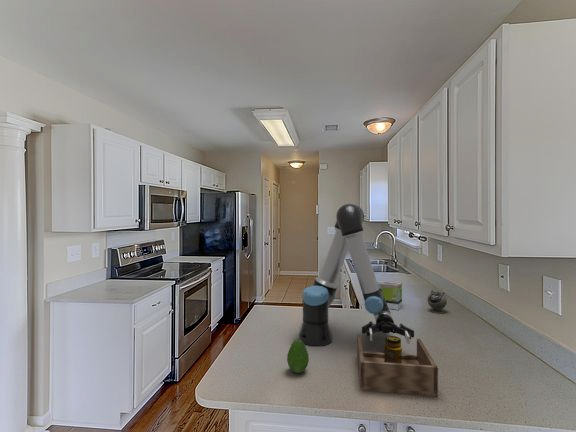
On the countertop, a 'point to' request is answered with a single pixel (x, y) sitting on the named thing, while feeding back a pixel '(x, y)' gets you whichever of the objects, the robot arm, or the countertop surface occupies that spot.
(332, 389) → the countertop surface
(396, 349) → the condiment
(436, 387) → the tray
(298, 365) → the avocado
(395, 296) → the tea box
